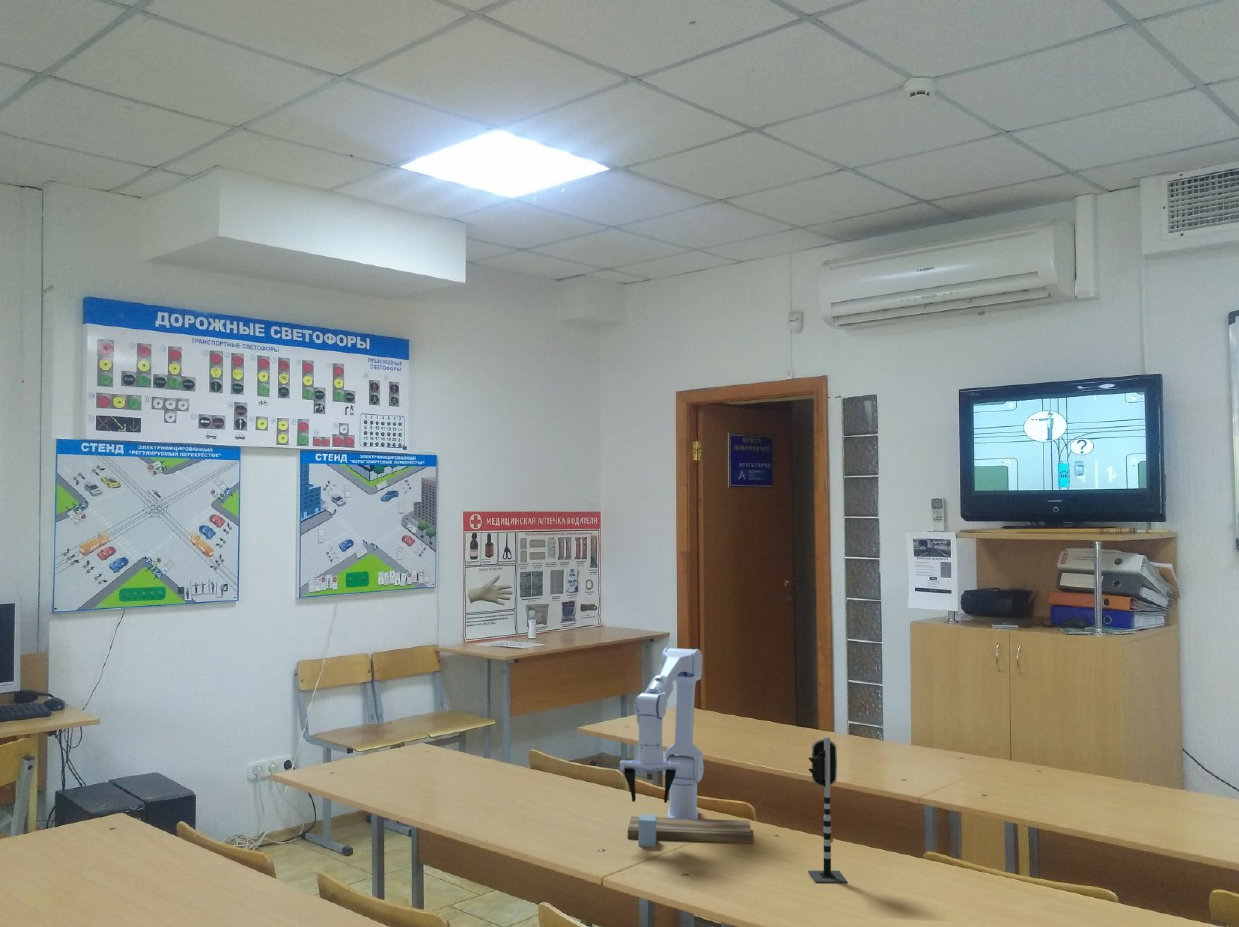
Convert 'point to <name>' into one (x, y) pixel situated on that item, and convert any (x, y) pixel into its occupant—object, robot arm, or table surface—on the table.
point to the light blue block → (647, 830)
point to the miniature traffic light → (825, 802)
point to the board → (697, 830)
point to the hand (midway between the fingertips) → (649, 801)
